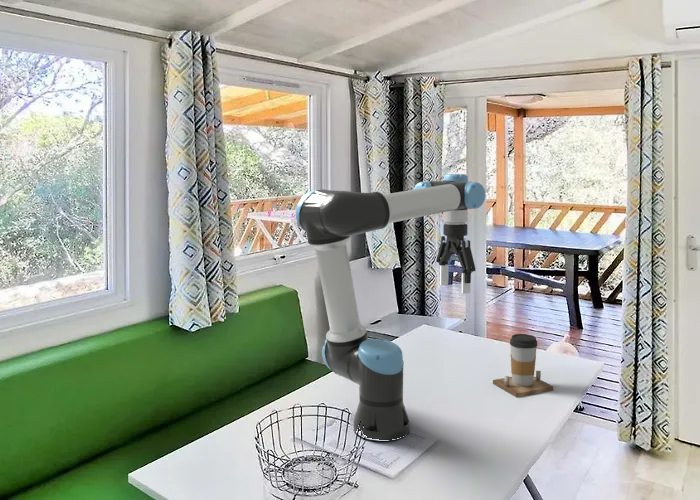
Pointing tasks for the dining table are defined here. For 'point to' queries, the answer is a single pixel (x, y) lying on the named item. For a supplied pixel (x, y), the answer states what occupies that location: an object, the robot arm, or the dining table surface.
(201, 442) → the dining table surface
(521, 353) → the coffee cup
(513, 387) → the wooden board with pegs
